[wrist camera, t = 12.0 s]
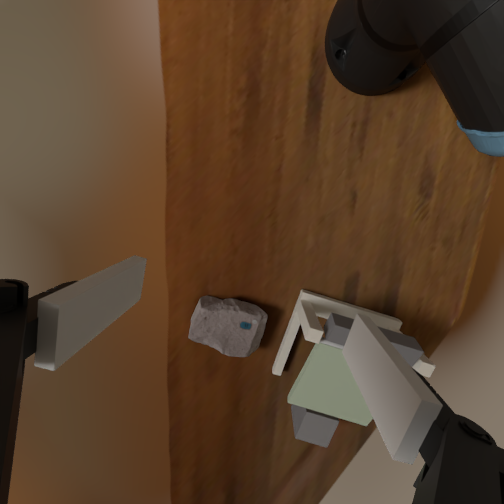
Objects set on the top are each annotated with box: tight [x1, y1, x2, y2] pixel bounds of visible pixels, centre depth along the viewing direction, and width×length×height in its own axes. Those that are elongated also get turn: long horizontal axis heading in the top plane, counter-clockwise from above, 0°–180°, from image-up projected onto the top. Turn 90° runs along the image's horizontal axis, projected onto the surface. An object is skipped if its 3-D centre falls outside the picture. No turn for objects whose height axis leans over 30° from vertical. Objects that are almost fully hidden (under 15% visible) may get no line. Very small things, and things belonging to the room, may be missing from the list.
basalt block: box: [291, 404, 339, 447], centre depth 48 cm, size 6×6×7 cm
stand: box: [272, 289, 436, 377], centre depth 43 cm, size 18×19×12 cm
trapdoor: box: [288, 312, 424, 426], centre depth 40 cm, size 18×14×3 cm
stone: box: [188, 296, 268, 357], centre depth 46 cm, size 13×10×6 cm
